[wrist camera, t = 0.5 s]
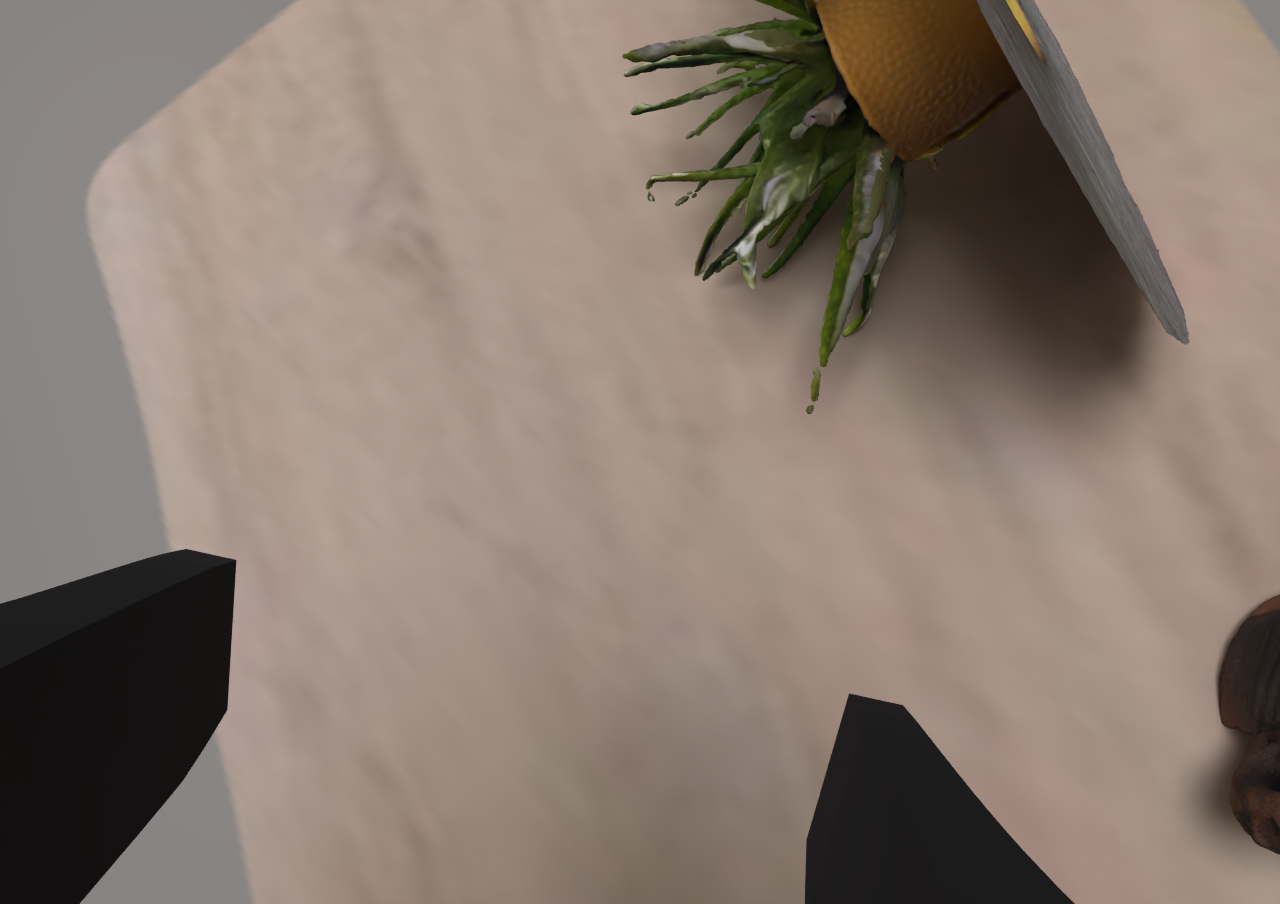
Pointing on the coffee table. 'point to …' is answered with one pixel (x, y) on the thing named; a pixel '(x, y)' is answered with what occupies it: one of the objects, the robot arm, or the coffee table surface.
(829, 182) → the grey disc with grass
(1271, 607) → the pottery mug
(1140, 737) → the coffee table surface
